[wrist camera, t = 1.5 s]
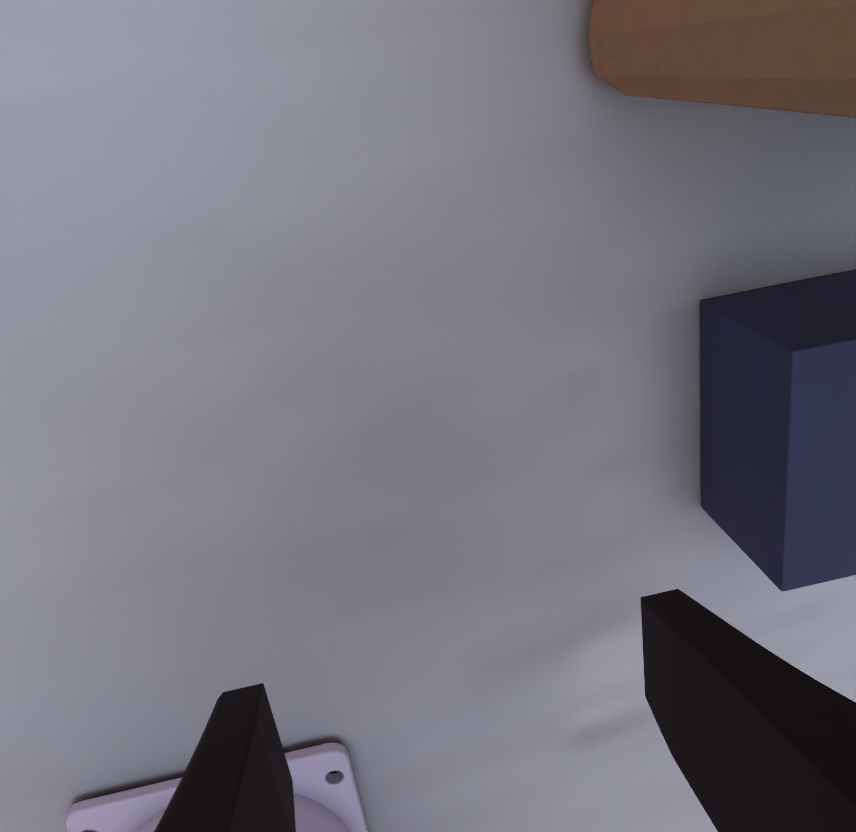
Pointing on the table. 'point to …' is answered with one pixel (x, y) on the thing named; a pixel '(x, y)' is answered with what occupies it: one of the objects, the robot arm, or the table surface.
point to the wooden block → (730, 52)
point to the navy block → (783, 426)
